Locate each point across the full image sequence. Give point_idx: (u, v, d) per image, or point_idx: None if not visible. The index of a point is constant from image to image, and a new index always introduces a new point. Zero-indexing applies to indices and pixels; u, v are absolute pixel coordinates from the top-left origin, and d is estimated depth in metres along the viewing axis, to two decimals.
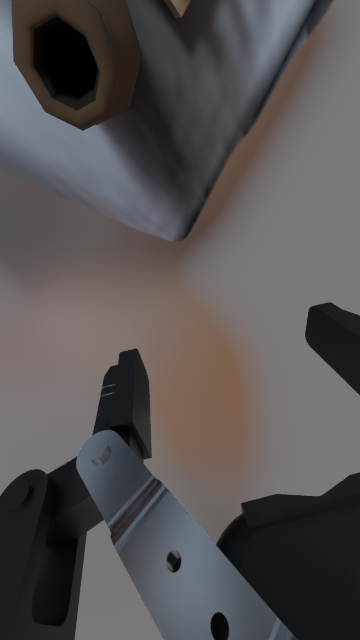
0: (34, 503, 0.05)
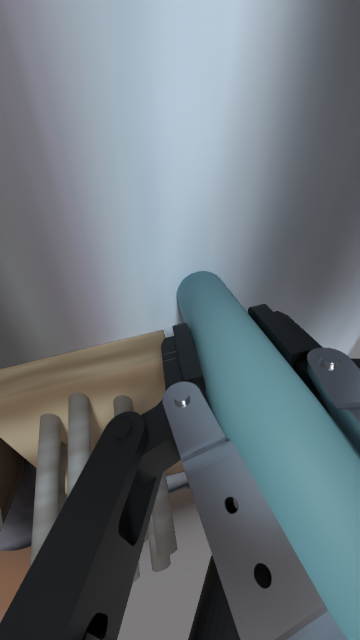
0: (136, 434, 0.06)
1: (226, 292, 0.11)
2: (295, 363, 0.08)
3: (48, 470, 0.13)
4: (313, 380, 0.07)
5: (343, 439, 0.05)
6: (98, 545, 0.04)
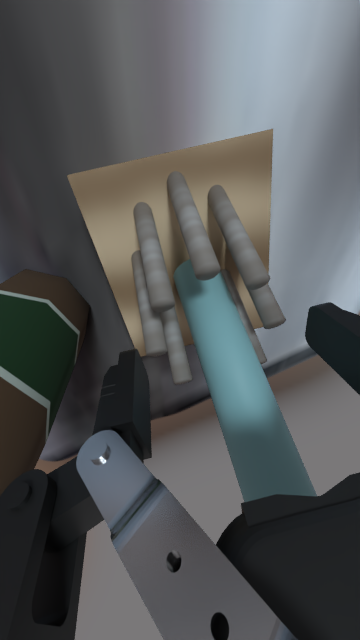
0: (34, 503, 0.05)
1: (223, 294, 0.13)
2: None
3: (153, 238, 0.12)
4: None
5: (284, 432, 0.10)
6: None
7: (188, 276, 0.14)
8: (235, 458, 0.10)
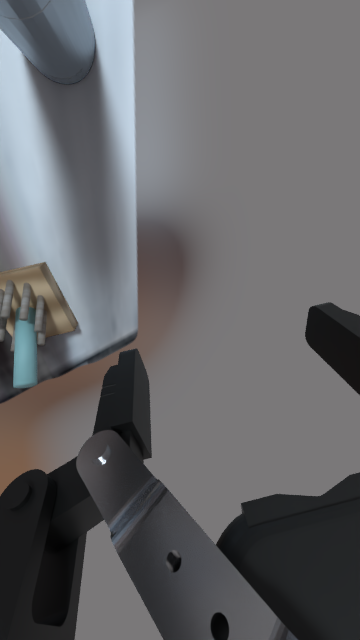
0: (34, 503, 0.05)
1: None
2: None
3: None
4: None
5: (26, 362, 0.36)
6: None
7: (16, 314, 0.40)
8: (14, 369, 0.36)
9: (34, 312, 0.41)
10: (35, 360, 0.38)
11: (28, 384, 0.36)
